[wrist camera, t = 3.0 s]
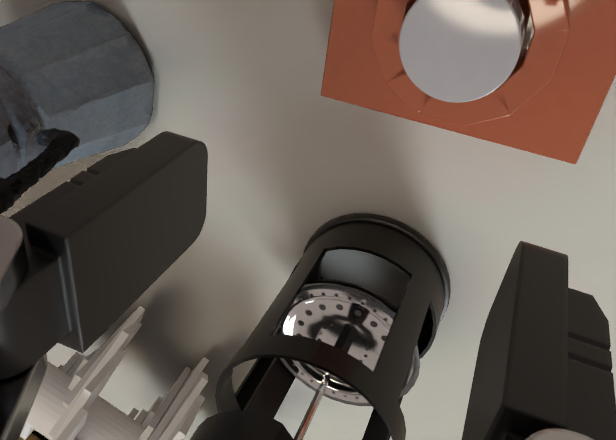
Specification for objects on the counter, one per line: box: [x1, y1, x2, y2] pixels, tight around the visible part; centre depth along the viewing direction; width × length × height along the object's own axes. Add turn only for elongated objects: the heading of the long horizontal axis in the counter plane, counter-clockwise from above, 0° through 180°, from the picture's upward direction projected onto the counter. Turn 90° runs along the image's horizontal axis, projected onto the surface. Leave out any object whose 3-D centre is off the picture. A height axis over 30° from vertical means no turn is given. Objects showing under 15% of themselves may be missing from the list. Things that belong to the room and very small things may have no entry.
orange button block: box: [321, 0, 616, 164], centre depth 24 cm, size 12×10×4 cm
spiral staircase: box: [20, 306, 209, 440], centre depth 41 cm, size 18×18×25 cm
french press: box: [190, 214, 451, 440], centre depth 27 cm, size 12×9×23 cm
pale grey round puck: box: [399, 0, 525, 103], centre depth 22 cm, size 4×4×2 cm
